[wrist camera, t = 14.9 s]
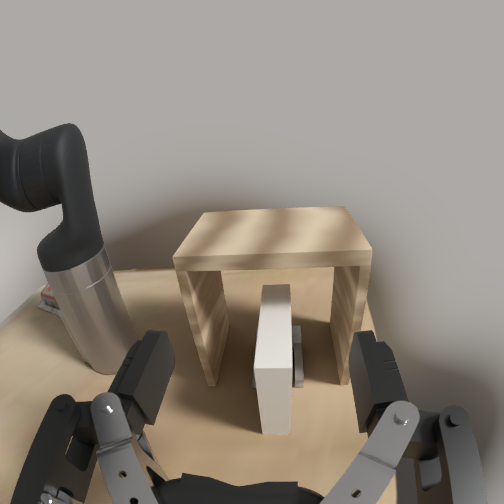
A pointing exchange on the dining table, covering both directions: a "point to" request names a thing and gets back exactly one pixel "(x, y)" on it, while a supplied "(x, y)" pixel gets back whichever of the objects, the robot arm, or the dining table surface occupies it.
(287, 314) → the white box
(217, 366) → the wooden arch
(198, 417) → the dining table surface
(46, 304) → the packaged product
